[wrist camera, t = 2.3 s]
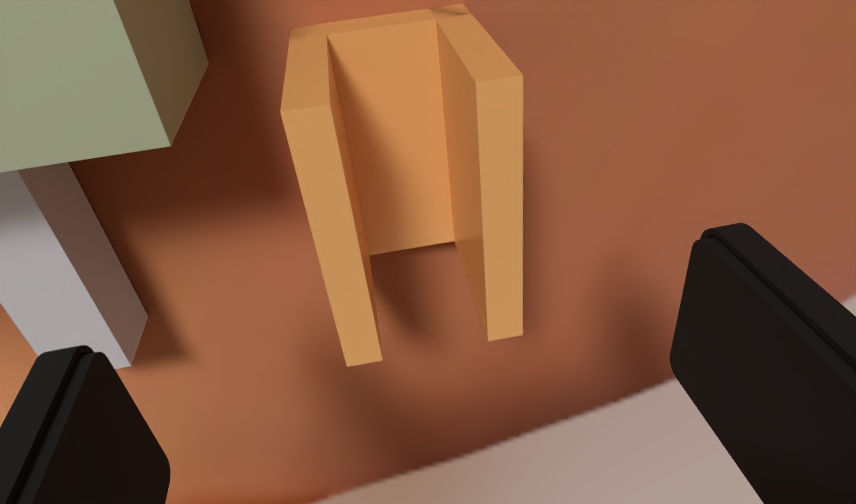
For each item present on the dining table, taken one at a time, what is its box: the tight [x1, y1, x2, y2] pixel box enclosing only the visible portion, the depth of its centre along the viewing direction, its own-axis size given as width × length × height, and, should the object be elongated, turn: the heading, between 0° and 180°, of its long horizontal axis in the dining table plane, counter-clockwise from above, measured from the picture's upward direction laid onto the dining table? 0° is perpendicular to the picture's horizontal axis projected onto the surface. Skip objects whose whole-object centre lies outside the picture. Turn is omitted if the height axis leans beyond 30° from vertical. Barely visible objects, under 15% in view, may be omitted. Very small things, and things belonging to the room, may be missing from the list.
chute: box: [280, 4, 523, 367], centre depth 13 cm, size 4×6×5 cm, turn 5°
